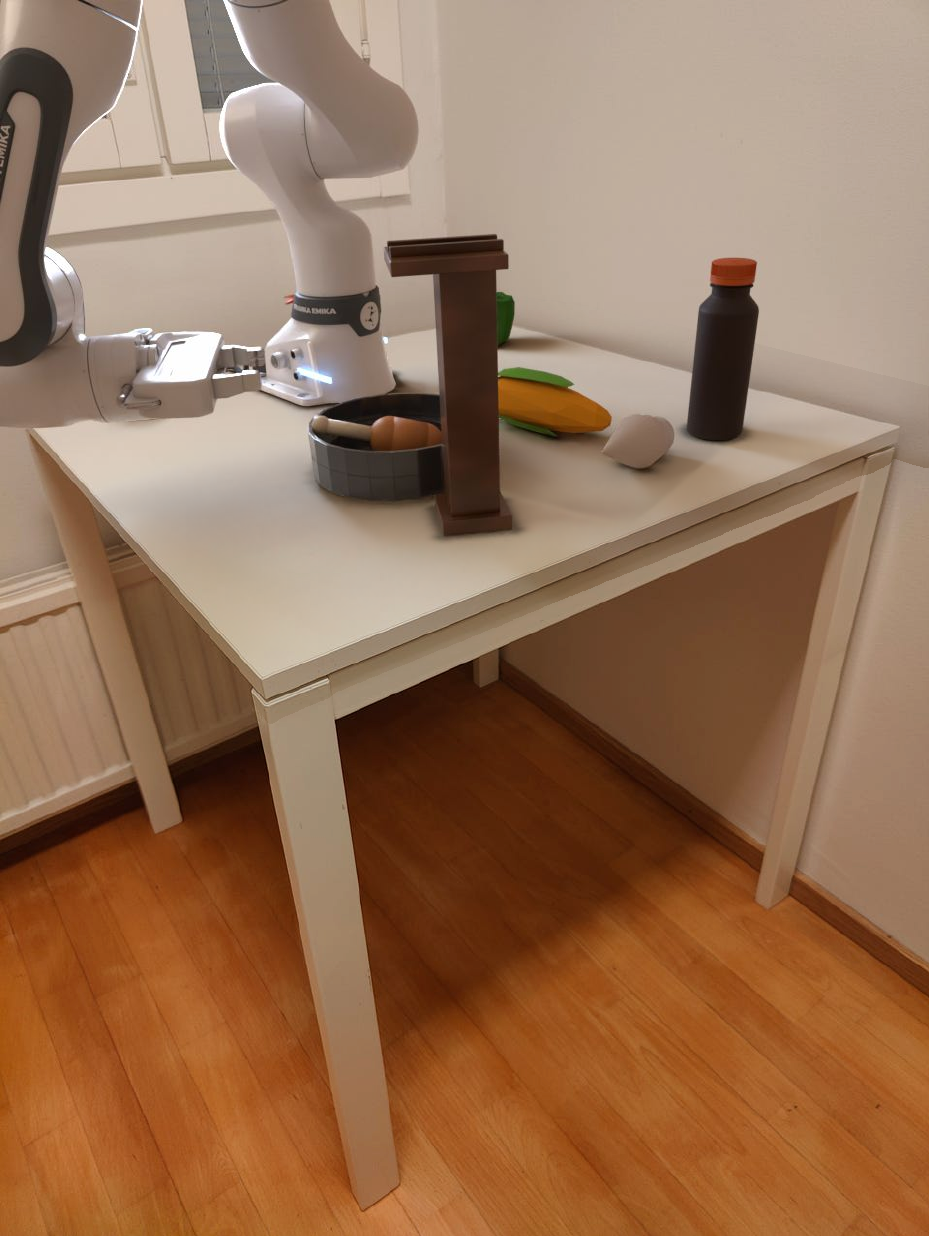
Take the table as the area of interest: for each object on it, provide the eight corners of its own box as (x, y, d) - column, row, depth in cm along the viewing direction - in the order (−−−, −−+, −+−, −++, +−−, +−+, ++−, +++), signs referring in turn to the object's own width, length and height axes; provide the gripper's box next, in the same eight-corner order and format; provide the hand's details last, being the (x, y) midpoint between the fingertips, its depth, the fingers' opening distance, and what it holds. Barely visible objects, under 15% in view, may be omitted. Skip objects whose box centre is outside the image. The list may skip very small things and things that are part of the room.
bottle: (754, 433, 107) (779, 261, 96) (713, 445, 104) (734, 269, 93) (714, 418, 112) (733, 253, 101) (674, 430, 109) (690, 261, 98)
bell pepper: (483, 335, 152) (481, 275, 147) (522, 340, 148) (522, 279, 143) (455, 346, 147) (452, 284, 141) (495, 352, 142) (494, 289, 137)
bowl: (278, 480, 100) (270, 430, 97) (391, 428, 113) (387, 383, 110) (412, 520, 90) (408, 466, 86) (518, 458, 103) (518, 409, 100)
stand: (412, 542, 85) (389, 251, 71) (404, 508, 92) (382, 237, 78) (513, 531, 86) (510, 243, 72) (498, 499, 93) (493, 230, 79)
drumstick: (308, 451, 96) (315, 409, 94) (309, 436, 100) (315, 396, 98) (441, 473, 100) (451, 434, 98) (436, 458, 104) (445, 420, 102)
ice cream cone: (592, 491, 94) (654, 468, 105) (636, 465, 89) (696, 444, 100) (566, 441, 94) (631, 423, 105) (609, 413, 90) (672, 397, 101)
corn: (507, 350, 114) (632, 378, 102) (510, 405, 119) (631, 438, 107) (468, 367, 110) (594, 398, 98) (473, 424, 115) (594, 459, 103)
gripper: (103, 375, 81) (252, 363, 82) (139, 325, 98) (262, 316, 100) (119, 440, 84) (263, 427, 86) (151, 380, 101) (271, 371, 103)
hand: (263, 367), depth 93 cm, fingers open, 8 cm apart
